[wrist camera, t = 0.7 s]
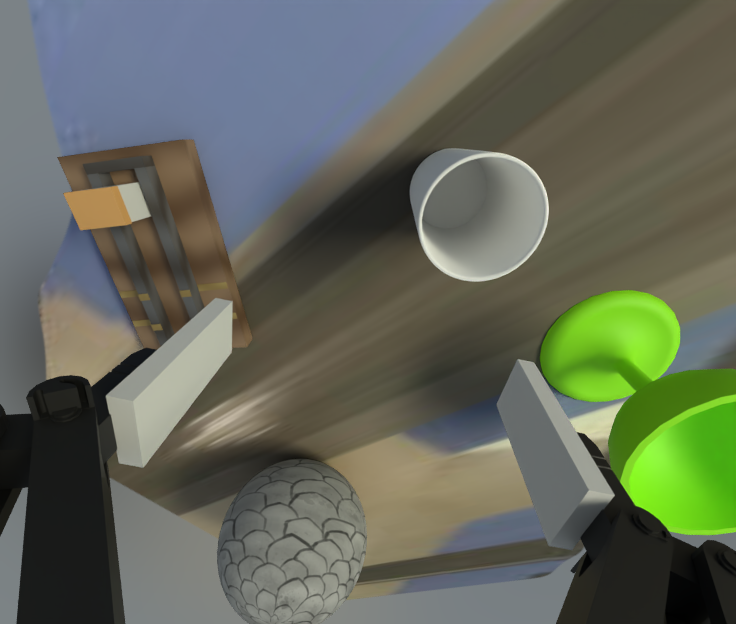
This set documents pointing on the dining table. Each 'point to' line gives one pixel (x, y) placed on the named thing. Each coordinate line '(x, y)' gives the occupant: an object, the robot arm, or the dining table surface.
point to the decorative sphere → (292, 544)
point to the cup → (477, 212)
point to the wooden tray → (162, 239)
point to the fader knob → (108, 206)
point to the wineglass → (652, 408)
